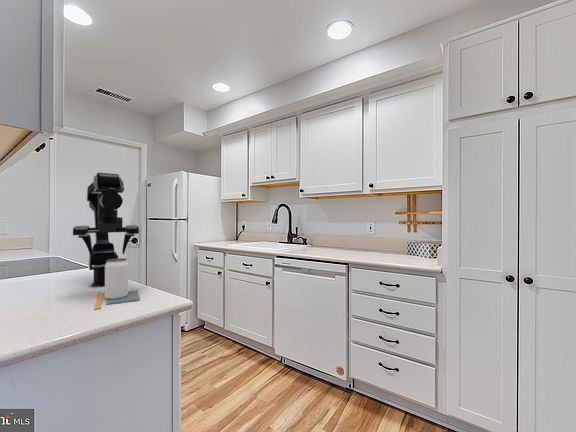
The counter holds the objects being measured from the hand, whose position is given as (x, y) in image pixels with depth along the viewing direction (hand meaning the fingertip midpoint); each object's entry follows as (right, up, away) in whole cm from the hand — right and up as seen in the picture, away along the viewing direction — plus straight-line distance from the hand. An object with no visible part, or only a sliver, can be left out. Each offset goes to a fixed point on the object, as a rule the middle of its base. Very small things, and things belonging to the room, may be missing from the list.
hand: (107, 255), depth 98 cm
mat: (+8, -13, -5) cm, 16 cm away
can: (+6, -13, -5) cm, 15 cm away
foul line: (+3, -13, -9) cm, 16 cm away
